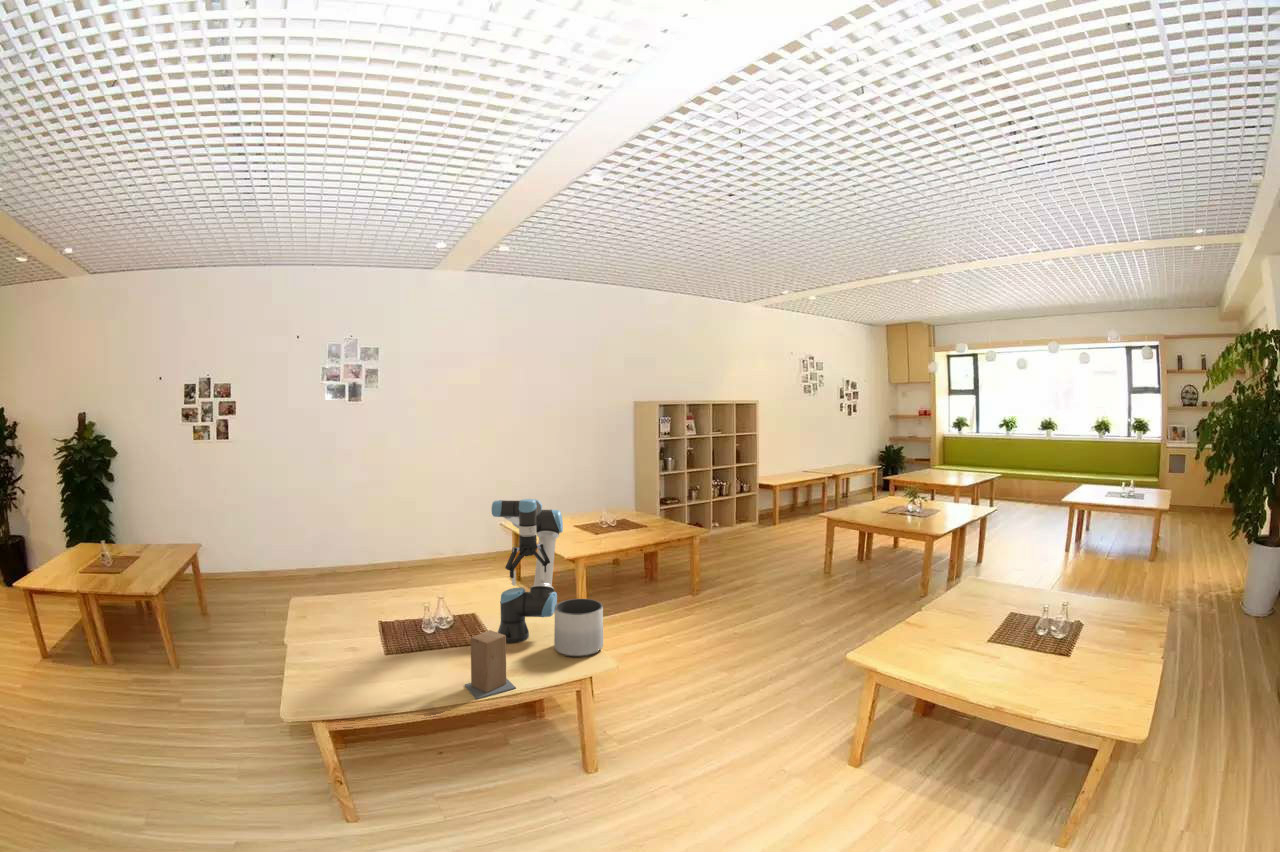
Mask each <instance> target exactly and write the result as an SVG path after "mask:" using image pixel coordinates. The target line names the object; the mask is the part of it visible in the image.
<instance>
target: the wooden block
mask: <svg viewBox="0 0 1280 852" xmlns="http://www.w3.org/2000/svg"><path fill="white" fill-rule="evenodd" d="M470 674H471V675H470V678H471V679H470V680H471V681H470V683H471V686H473V687H475V688H477V689H479V690H482V691H484V692H486V693H488V692H490V691H492V690H494V689H496V688H498V687H500V686H503V685H505V684H506V678H507V643H506V636H505V635H503V634H500V633H498V631H494V630H491V629H490V630H487V631H484V632H481V633H479V634H477V635H474V636H471V637H470Z"/></svg>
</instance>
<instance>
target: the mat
mask: <svg viewBox="0 0 1280 852" xmlns="http://www.w3.org/2000/svg"><path fill="white" fill-rule="evenodd" d="M464 687H465V688H466V689H467V690H468V691H469V692H470V694H471V695H472V696H473V698H475V700H476V701H477V700H481V699H484V698H487V697H492V696H495V695H499V694H502V693H505V692H508V691H513V690H515V689H516V686H515V685H514V684H513V683H512V682H511V681H510V680H509V679H508V678H507V677H506V684H505V685H503V686H500V687H498V688H496V689H494V690H492V691H490V692H488V693H486V692H484V691H482V690H479V689H477V688H475V687H473V686H471V682H468V683H465V684H464Z"/></svg>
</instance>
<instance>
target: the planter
mask: <svg viewBox="0 0 1280 852" xmlns="http://www.w3.org/2000/svg"><path fill="white" fill-rule="evenodd" d="M553 633H554V634H553V635H554V637H553V638H554V639H553V640H554V641H553V643H554V650H555V652H557V653H558V654H560V655H562V656H565V657H569V658H570V657H571V658H584V657H589V656H592V655H595V654H598V653H599V652H600V651H601V650H602V649H603V648H604V606H603V603H602V602H600V601H598V600H595V599H592V598H591V599H589V598H573V599H572V598H571V599H566V600H562V601H560V602H557V603H556V606H555V611H554V632H553ZM598 649H599V650H600V651H599V650H598Z"/></svg>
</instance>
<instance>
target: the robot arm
mask: <svg viewBox="0 0 1280 852" xmlns="http://www.w3.org/2000/svg"><path fill="white" fill-rule="evenodd" d="M491 515H492V516H493V518H495V517H496V518H504V519H505V520H507V521H509V522H511V524H512V526H513V527H515V528H517V529H518V535H519V536H518V543H519V546H517V547H515V546H513V547H512V549H511V553H510V556H509V558H508V560H507V562H506V565H505V567H504V568H505V569H506V570H507V571H509V577H510V579H511V585H512V586H516V585H517V576H516V574H517V571H516V568H517V566H518V565H519V563H520V562H521V560H523V558H524V557H529V556H530V557H531V556H534V557H535V558H536V563H535V573H534V581H533V582H534V584H533V585H532V586H530V591H526V589H525V588H524V587H513V588H509V589H507V590H504V591H503V592H502V593H501V594H500V601H499V603H500V623H499V628H498V629H497V630H498V631H497V633H500V634H503V635H505V636H506V644H516V643H521V642H525V641H526V640H528V639H529V637H530V632H529V628H528V625H527V622H526V618H549V617H553V615H554V614H555V606H556V605H557V604H558V594H557V592H556V591H555V588H554V587H553V574H554V564H555V563H554V562H555V551H556V540H557V539H558V538H559V537H560V534H561V533H563V532H564V521H563V516H562V512H561V511H560V510H558V509H543V505H542V502H541V501H540V500H539V499H536V498H524V499H521V500H503V499H502V500H501V499H500V500H494V501H493V502H492V504H491ZM537 540H538V542H537ZM517 553H518V555H517ZM516 556H517V557H516Z"/></svg>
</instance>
